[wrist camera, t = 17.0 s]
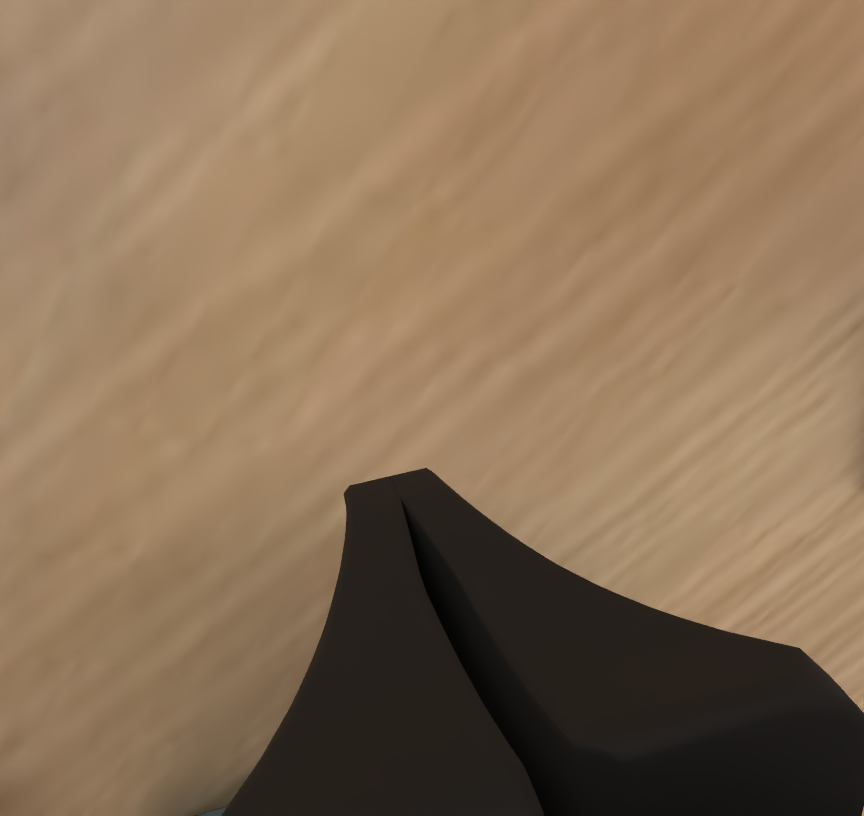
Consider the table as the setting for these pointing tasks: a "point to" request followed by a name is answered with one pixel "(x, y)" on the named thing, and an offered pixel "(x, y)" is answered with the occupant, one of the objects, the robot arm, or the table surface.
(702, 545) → the table surface
